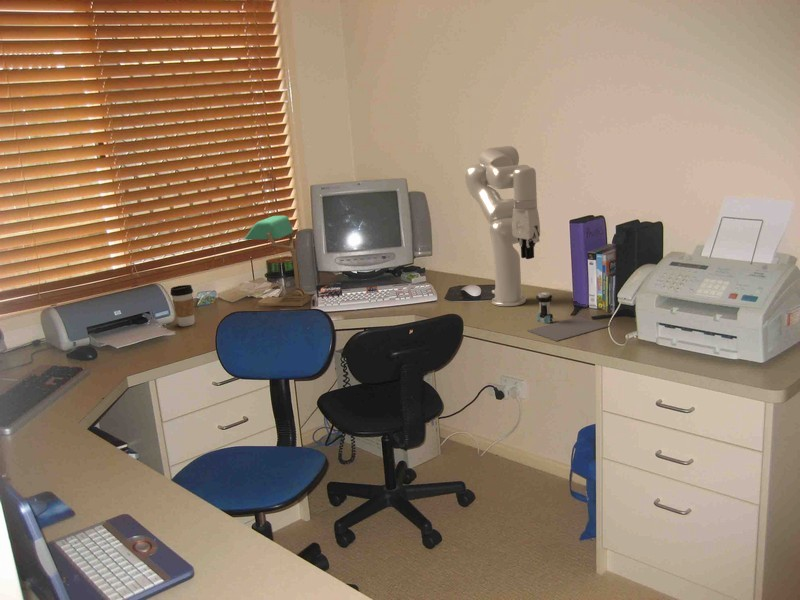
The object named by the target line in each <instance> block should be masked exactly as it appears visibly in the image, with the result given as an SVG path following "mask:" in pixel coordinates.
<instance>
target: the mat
mask: <svg viewBox="0 0 800 600" xmlns="http://www.w3.org/2000/svg"><path fill="white" fill-rule="evenodd" d="M608 327H610V325H607V324H605V323H604V324H603V323H601V322H597V321H594V320H592V319H588V318H584V317H581V316H576V317H573V318H568V319H565V320H561V321H558V322H553V323H548V324H545V325H542V326H539V327H535V328H532V329H531V328H530V329H528V330H527V332H529V333H531V334H535V335H538V336H540V337H543V338H546V339H549V340H551V341H553V342H561V341H564V340H567V339H571V338H574V337H577V336H581V335H584V334H588V333H591V332H595V331H598V330H599V331H600V330H602V329H606V328H608Z"/></svg>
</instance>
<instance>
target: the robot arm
mask: <svg viewBox="0 0 800 600" xmlns="http://www.w3.org/2000/svg"><path fill="white" fill-rule="evenodd" d="M519 156H520V155H519V151H518V150H517V149H516V147H513V146H510V145H509V146H508V145H506V146H496V147H489V148H486V149H483V151H481V153H480V155H479V156H478V157H479V158H478V161H479V163H477V164H474V165H471V166H469V167H467V169H466V171H465V174H464V179H465V184H466V188H467V189H468V192H469V193H470V195H471V197H472V198H473V199H474V200H475V201H476V202H477V203H478V205H479V206H480V209H481V211H482V213H483V215H484V218H485V219H486V220H487V222H488V223H489V224H490V227H489V235H490V238H491V243H492V251H493V265H494V283H495V285H494V286H495V288H494V289H492V290H491V293H492V294H493V295H494V297H493V298H492V299H491V304H492V305H495V306H498V307H516V306H520V305H523V304H525V303H526V302H527V298H526V297H525V296H523V295H522V278H521V259H525V260H530V259H534V258H535V246H536V244H537V243H539V242H540V236H541V226H540V225H541V223H540V217H539V211H538V197H537V171H536V169H535V168H534V167H531V166H529V165H528V164H527V165H526V164H519V163H520V157H519ZM505 189H506V190H507V189H513V198H507V199H504V198H503V199H502V196H501V195H500V193H499V192H498V191H497V190H505ZM515 244H519V247H520V254H519V251H518V250H517V249H516V248H515V247H514V246H513V245H515ZM520 257H521V258H520Z"/></svg>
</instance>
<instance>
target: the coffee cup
mask: <svg viewBox="0 0 800 600" xmlns="http://www.w3.org/2000/svg"><path fill="white" fill-rule="evenodd" d="M193 293H194V289H193V287H192V285H191V284H183V285H177V286H172V287H171V288H170V293H169V294H170V296H171V298H172V303H173V308H174V312H175V315H176V318H177V323H178V326H180V327H188V326H192V325H194V324H195V321H196V320H195V306H194V296H193Z"/></svg>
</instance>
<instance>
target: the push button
mask: <svg viewBox="0 0 800 600" xmlns="http://www.w3.org/2000/svg"><path fill="white" fill-rule="evenodd" d="M535 297H536V302H538V303H539V304H538V305H539V311H538V313H537V322H538V323H539V322H540V323H545V324H552V322H553V323H557V322H556V318H554V315H553V314H552V313H551V308H550V307H551V304H550V302H552V301H553V295H552V294H550V292H548V291H543V292H539V293H538V295H536V296H535Z"/></svg>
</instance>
